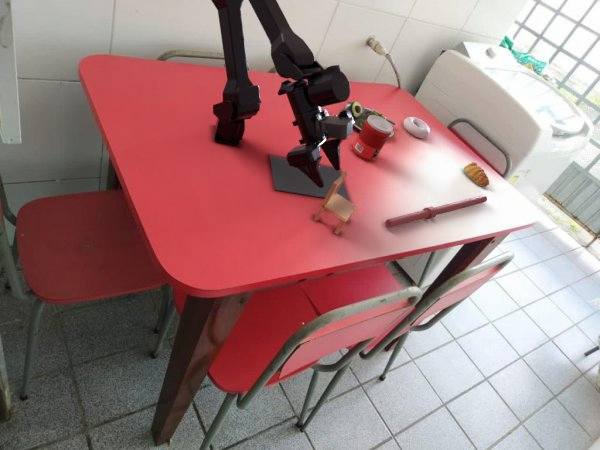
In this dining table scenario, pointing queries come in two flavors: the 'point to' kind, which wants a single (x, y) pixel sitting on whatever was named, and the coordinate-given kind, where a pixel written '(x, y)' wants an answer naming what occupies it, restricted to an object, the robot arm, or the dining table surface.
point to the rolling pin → (433, 211)
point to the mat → (303, 179)
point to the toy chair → (337, 204)
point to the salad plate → (362, 115)
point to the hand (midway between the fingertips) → (330, 178)
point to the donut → (416, 127)
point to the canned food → (372, 137)
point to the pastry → (476, 174)
